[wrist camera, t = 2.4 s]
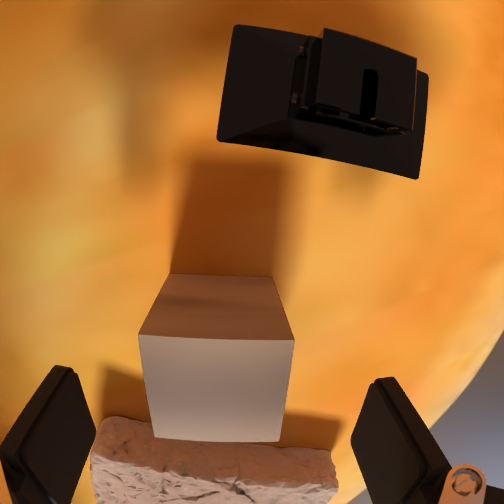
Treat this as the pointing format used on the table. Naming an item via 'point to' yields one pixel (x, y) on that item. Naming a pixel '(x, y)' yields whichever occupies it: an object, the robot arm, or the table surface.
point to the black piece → (325, 98)
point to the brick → (203, 470)
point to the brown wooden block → (217, 359)
